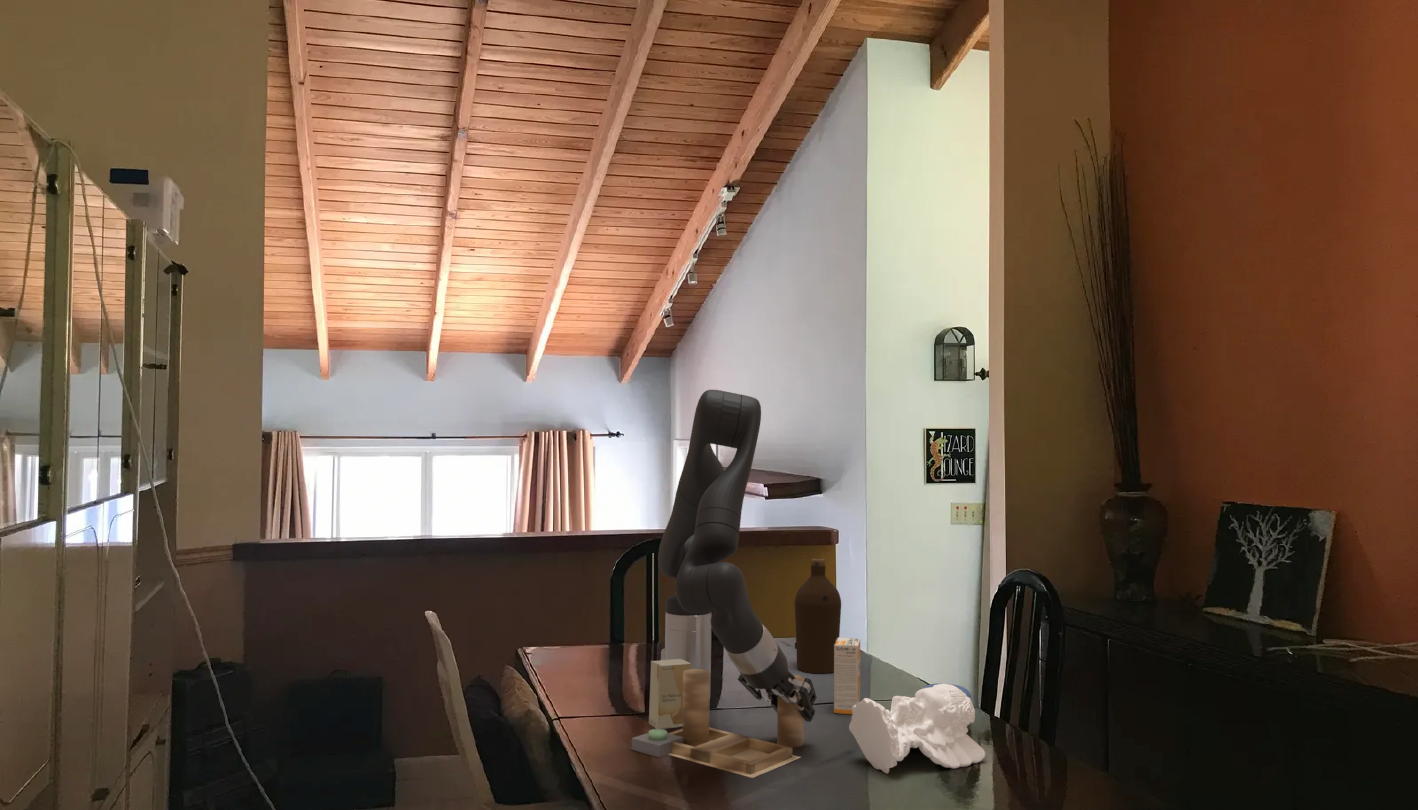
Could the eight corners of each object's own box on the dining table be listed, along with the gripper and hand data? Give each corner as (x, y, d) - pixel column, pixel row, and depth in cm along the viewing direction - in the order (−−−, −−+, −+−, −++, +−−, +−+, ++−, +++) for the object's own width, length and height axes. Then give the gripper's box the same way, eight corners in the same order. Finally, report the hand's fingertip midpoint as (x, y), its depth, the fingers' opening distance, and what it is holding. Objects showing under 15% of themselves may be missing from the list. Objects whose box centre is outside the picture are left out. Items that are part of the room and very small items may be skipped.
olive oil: (850, 669, 224) (851, 559, 225) (820, 676, 217) (820, 563, 218) (814, 662, 232) (815, 555, 233) (784, 668, 225) (785, 558, 226)
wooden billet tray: (644, 755, 160) (644, 738, 161) (695, 737, 170) (695, 721, 171) (752, 785, 147) (752, 767, 147) (801, 764, 157) (801, 747, 157)
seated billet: (676, 745, 162) (677, 672, 162) (694, 739, 165) (695, 667, 166) (697, 751, 159) (698, 676, 159) (714, 745, 162) (715, 671, 163)
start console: (631, 756, 160) (631, 731, 160) (656, 748, 164) (656, 724, 164) (658, 764, 156) (659, 739, 156) (683, 755, 160) (683, 731, 161)
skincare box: (657, 736, 171) (659, 665, 171) (647, 730, 175) (648, 660, 175) (691, 732, 174) (691, 662, 174) (680, 725, 178) (681, 657, 178)
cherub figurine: (840, 691, 162) (935, 668, 171) (847, 767, 162) (942, 739, 171) (888, 708, 150) (988, 682, 159) (896, 790, 150) (995, 759, 159)
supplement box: (858, 715, 186) (859, 645, 187) (833, 713, 187) (833, 644, 188) (860, 704, 194) (861, 637, 195) (836, 702, 195) (836, 636, 196)
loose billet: (771, 750, 164) (772, 678, 164) (786, 744, 167) (787, 673, 168) (793, 756, 161) (794, 682, 161) (808, 750, 164) (809, 677, 165)
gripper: (802, 640, 155) (842, 702, 163) (730, 628, 164) (771, 688, 172) (782, 680, 150) (824, 742, 159) (709, 666, 159) (753, 725, 168)
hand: (796, 713), depth 166 cm, fingers open, 5 cm apart
